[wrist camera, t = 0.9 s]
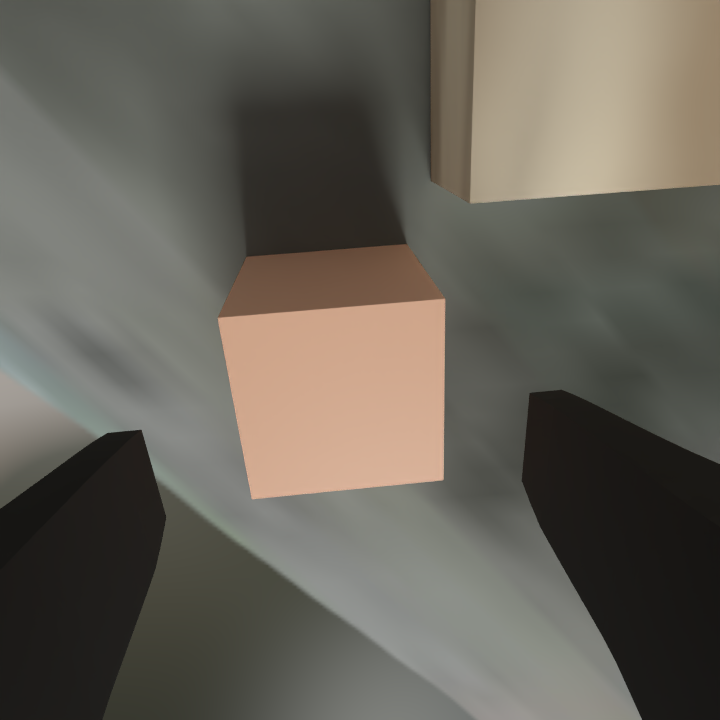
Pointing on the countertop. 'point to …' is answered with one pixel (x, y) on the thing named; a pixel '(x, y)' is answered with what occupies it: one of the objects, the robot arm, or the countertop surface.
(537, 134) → the base
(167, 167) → the countertop surface
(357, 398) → the block
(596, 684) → the countertop surface
